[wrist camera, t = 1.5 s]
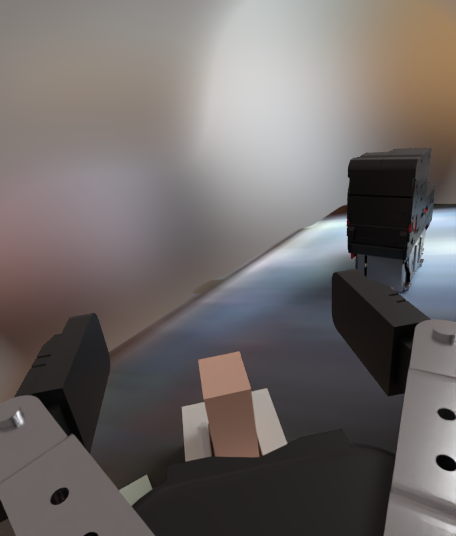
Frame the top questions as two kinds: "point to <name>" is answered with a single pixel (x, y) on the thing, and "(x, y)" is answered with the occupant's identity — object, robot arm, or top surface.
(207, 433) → the white square socket block
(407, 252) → the bill acceptor
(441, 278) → the top surface
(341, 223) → the top surface
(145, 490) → the mat
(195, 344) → the top surface
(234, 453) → the tall brown pillar
